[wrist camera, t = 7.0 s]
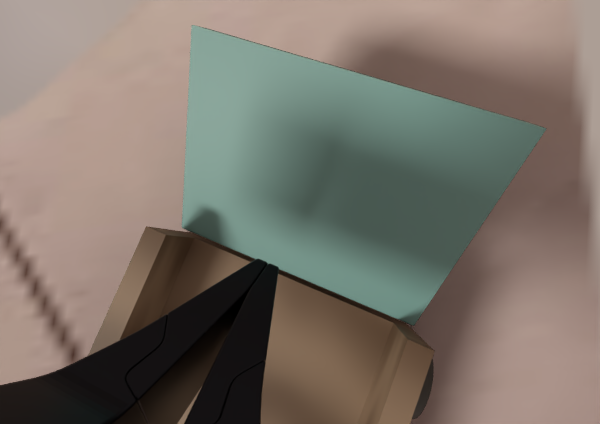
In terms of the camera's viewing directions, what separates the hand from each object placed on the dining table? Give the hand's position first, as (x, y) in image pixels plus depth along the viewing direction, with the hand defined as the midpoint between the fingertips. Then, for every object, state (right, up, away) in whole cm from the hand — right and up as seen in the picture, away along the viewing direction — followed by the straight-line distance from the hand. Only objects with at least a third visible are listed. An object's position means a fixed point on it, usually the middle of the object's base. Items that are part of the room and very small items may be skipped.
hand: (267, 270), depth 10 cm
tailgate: (+1, -1, +8) cm, 8 cm away
